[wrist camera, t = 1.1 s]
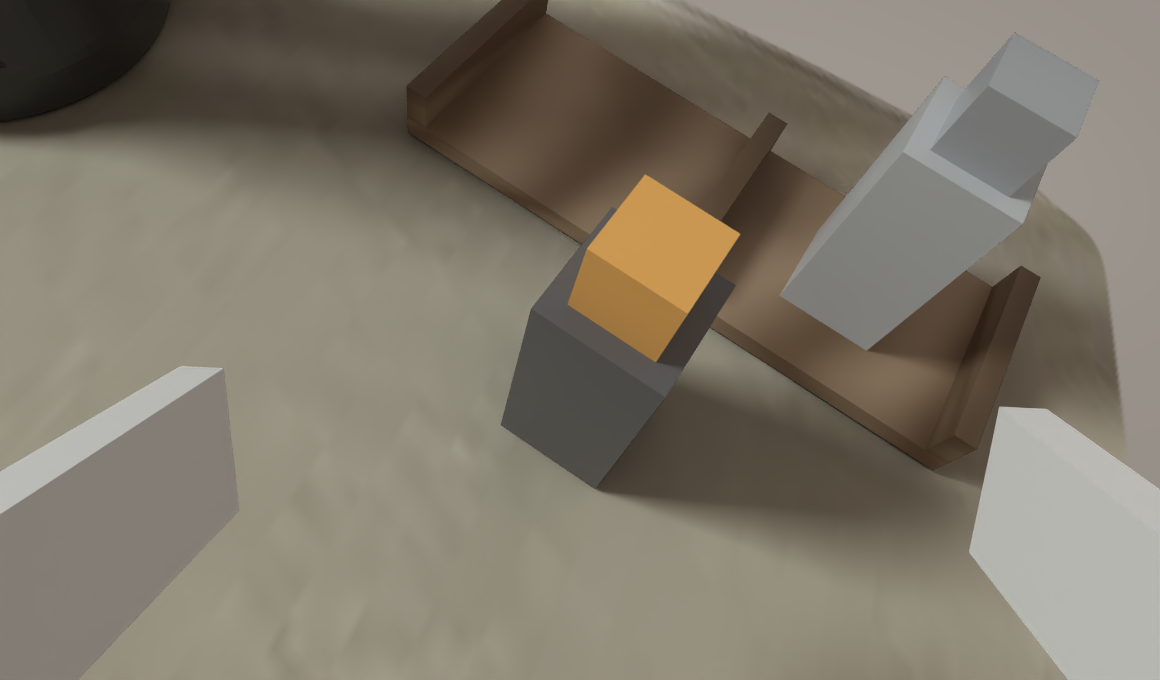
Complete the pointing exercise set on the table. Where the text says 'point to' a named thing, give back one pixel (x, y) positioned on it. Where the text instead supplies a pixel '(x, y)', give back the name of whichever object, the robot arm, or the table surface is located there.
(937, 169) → the grey plug
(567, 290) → the charcoal plug
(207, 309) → the table surface
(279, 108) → the table surface
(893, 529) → the table surface
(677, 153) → the brown wooden tray
